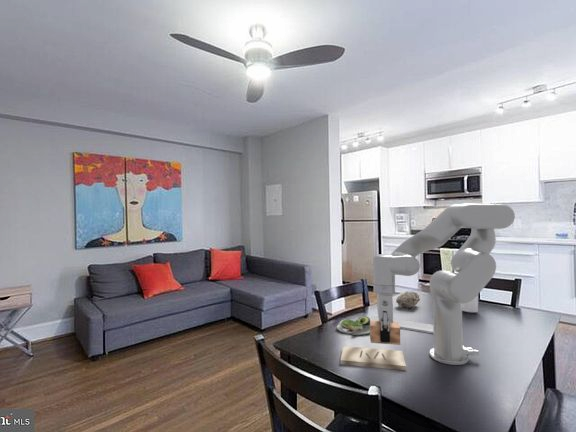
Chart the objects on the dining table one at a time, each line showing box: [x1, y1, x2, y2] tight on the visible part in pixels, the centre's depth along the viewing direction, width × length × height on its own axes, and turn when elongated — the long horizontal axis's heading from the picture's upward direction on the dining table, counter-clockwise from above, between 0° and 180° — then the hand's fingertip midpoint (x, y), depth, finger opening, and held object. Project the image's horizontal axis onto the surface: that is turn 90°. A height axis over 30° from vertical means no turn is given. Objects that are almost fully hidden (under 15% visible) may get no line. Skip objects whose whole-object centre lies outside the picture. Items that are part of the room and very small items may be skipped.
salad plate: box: [336, 316, 370, 336], centre depth 143 cm, size 19×18×5 cm
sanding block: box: [369, 321, 401, 346], centre depth 112 cm, size 10×6×6 cm, turn 78°
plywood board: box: [340, 345, 407, 371], centre depth 113 cm, size 22×12×2 cm, turn 75°
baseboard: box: [368, 315, 434, 335], centre depth 149 cm, size 31×3×12 cm
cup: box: [461, 294, 479, 313], centre depth 163 cm, size 8×8×14 cm
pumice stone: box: [395, 291, 421, 309], centre depth 176 cm, size 14×12×8 cm
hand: (384, 337), depth 112 cm, fingers closed on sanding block, 6 cm apart
